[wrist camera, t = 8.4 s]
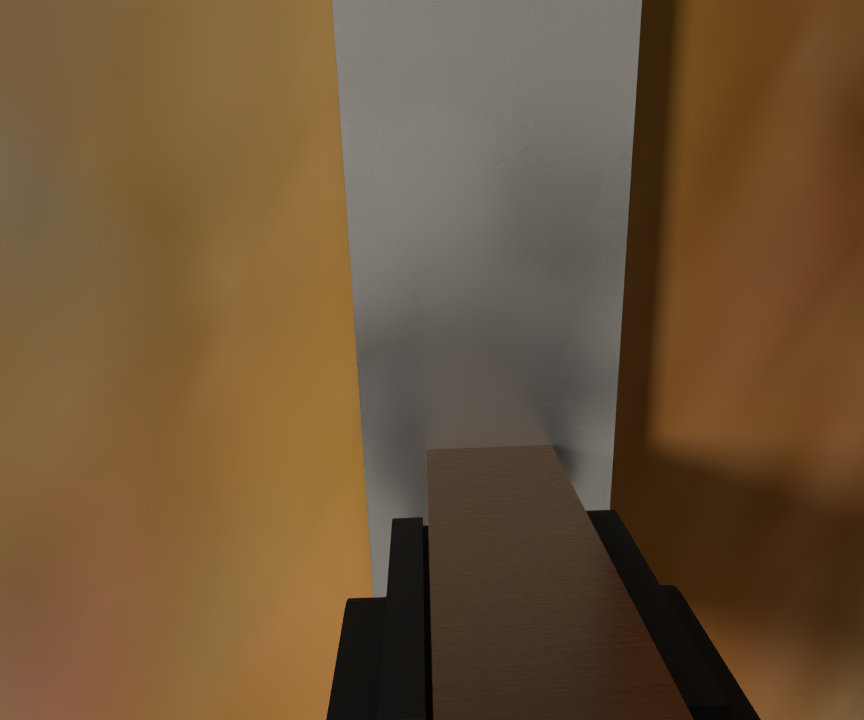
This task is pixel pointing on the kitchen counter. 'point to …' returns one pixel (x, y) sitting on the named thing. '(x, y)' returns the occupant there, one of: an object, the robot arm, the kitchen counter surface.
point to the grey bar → (498, 336)
